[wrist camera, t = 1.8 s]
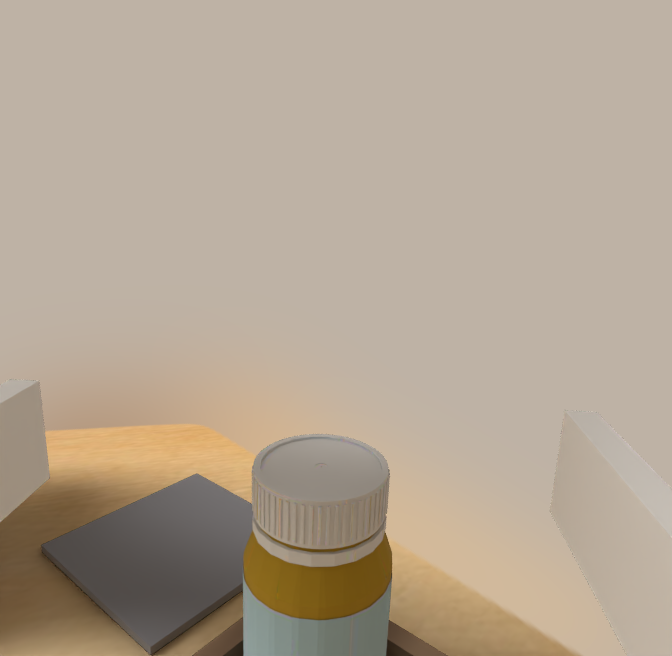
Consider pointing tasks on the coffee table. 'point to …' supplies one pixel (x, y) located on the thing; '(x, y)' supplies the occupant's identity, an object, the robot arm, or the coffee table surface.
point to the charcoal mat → (160, 558)
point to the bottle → (317, 550)
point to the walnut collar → (402, 649)
